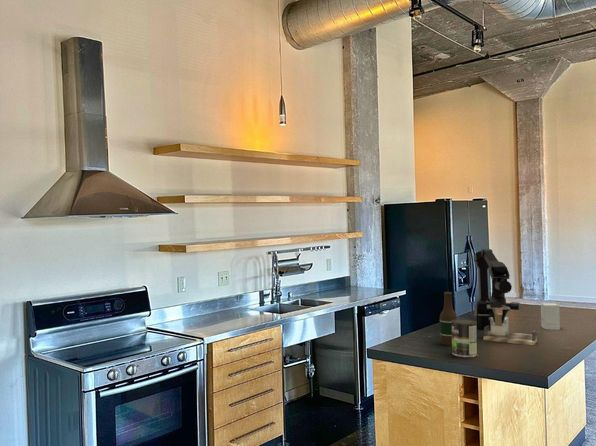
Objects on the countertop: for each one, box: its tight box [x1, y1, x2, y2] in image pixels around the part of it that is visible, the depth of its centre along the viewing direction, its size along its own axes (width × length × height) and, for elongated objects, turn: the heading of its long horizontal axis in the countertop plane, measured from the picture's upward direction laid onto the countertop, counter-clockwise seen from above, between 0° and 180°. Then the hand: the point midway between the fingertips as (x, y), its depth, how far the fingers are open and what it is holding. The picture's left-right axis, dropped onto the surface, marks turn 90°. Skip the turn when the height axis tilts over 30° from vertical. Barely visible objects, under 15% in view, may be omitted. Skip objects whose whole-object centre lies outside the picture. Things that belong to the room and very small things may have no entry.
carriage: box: [490, 313, 507, 336], centre depth 242 cm, size 6×6×9 cm
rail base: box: [482, 326, 538, 346], centre depth 239 cm, size 22×10×6 cm, turn 57°
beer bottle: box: [439, 291, 458, 347], centre depth 235 cm, size 8×8×24 cm
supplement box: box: [540, 302, 561, 331], centre depth 264 cm, size 7×7×13 cm
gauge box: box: [490, 316, 510, 333], centre depth 253 cm, size 7×7×8 cm
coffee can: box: [451, 318, 478, 358], centre depth 216 cm, size 10×10×14 cm
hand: (498, 322), depth 242 cm, fingers closed on carriage, 3 cm apart
